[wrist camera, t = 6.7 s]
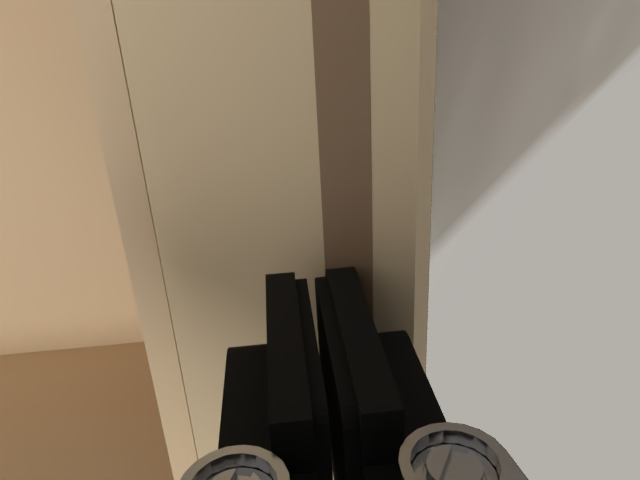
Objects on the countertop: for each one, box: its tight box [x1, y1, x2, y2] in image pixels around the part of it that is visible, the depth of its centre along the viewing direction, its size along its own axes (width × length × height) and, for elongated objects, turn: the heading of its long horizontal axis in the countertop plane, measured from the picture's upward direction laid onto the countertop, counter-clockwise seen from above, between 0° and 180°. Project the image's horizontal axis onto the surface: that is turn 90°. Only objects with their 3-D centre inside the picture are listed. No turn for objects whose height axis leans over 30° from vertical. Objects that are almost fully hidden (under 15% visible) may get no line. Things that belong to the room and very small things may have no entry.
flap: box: [112, 0, 438, 480], centre depth 12 cm, size 1×17×6 cm
